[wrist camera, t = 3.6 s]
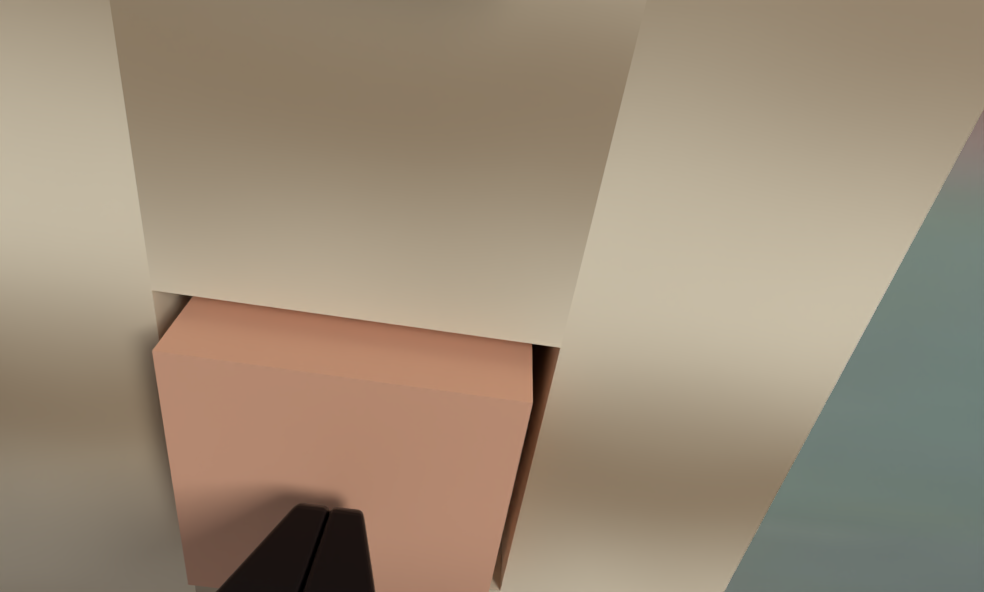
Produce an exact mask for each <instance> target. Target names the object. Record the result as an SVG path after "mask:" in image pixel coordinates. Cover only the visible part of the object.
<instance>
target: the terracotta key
mask: <svg viewBox="0 0 984 592" xmlns="http://www.w3.org/2000/svg"><path fill="white" fill-rule="evenodd" d="M152 354H153V360H154V367H155V373H156V380H157V386H158V393H159V399H160V406H161V412H162V419H163V425H164V432H165V438H166V445H167V451H168V457H169V464H170V470H171V477H172V483H173V490H174V496H175V503H176V509H177V516H178V522H179V529H180V535H181V542H182V548H183V554H184V561H185V567H186V574H187V580H188V585H195V586H203V587H212V588H220V587H221V586H222V584H223V583H224V582H225V581H226V580H227V579H228V578H229V577H230V576H231V575H232V573H233V572H234V571H235V570H236V569H237V568H238V567H239V566H240V565H241V564H242V563H243V561H244V560H245V559H246V558H247V557H248V556H249V555H250V554H251V553H252V552H253V551H254V549H255V548H256V547H257V546H258V545H259V544H260V543H261V542H262V541H263V540H264V539H265V537H266V536H267V535H268V534H269V533H270V532H271V531H272V530H273V529H274V528H275V526H276V525H277V524H278V523H279V522H280V521H281V520H282V519H283V518H284V517H285V516H286V514H287V513H288V512H289V511H290V510H291V509H292V508H293V507H294V506H295V505H297V504H299V503H311V504H319V505H325V506H328V507H329V509H330V510H331V509H332V508H334V507H343V508H350V509H358V510H361V511H362V512H363V514H364V519H365V525H366V532H367V539H368V545H369V552H370V559H371V565H372V572H373V579H374V585H375V592H489V589H490V585H491V580H492V576H493V572H494V567H495V563H496V559H497V555H498V550H499V546H500V542H501V537H502V533H503V529H504V525H505V520H506V516H507V512H508V507H509V503H510V499H511V495H512V490H513V486H514V482H515V477H516V473H517V469H518V465H519V460H520V456H521V452H522V448H523V443H524V439H525V435H526V430H527V426H528V422H529V418H530V413H531V409H532V405H533V374H532V344H530V343H523V342H516V341H509V340H502V339H495V338H488V337H480V336H473V335H466V334H459V333H452V332H445V331H438V330H431V329H424V328H416V327H409V326H402V325H395V324H388V323H381V322H374V321H367V320H360V319H352V318H345V317H338V316H331V315H324V314H317V313H310V312H303V311H296V310H288V309H281V308H274V307H267V306H260V305H253V304H246V303H239V302H232V301H224V300H217V299H210V298H203V297H196V296H193V297H192V298H191V299H190V301H189V302H188V303H187V305H186V306H185V307H184V309H183V310H182V311H181V313H180V314H179V315H178V317H177V318H176V319H175V321H174V322H173V323H172V325H171V326H170V327H169V329H168V330H167V331H166V333H165V334H164V335H163V337H162V338H161V340H160V341H159V342H158V344H157V345H156V346H155V348H154V349H153V350H152Z"/></svg>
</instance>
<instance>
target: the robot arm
mask: <svg viewBox="0 0 984 592" xmlns="http://www.w3.org/2000/svg"><path fill="white" fill-rule="evenodd" d="M216 592H375V585H374V579H373V572H372V565H371V559H370V552H369V545H368V539H367V532H366V525H365V519H364V514H363V512H362V511H361V510H358V509H350V508H343V507H334V508H332V509H331V510H330V509H329V507H328V506H325V505H319V504H311V503H299V504H297V505H295V506H294V507H293V508H292V509H291V510H290V511H289V512H288V513H287V514H286V516H285V517H284V518H283V519H282V520H281V521H280V522H279V523H278V524H277V525H276V526H275V528H274V529H273V530H272V531H271V532H270V533H269V534H268V535H267V536H266V537H265V539H264V540H263V541H262V542H261V543H260V544H259V545H258V546H257V547H256V548H255V549H254V551H253V552H252V553H251V554H250V555H249V556H248V557H247V558H246V559H245V560H244V561H243V563H242V564H241V565H240V566H239V567H238V568H237V569H236V570H235V571H234V572H233V573H232V575H231V576H230V577H229V578H228V579H227V580H226V581H225V582H224V583H223V584H222V586H221V587H220V588H219V589H218V590H217V591H216Z"/></svg>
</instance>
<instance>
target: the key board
mask: <svg viewBox="0 0 984 592" xmlns="http://www.w3.org/2000/svg"><path fill="white" fill-rule="evenodd" d="M983 109H984V0H0V592H216V591H217V590H218V589H219V588H212V587H203V586H195V585H188V580H187V574H186V567H185V561H184V554H183V548H182V542H181V535H180V529H179V522H178V516H177V509H176V503H175V496H174V490H173V483H172V477H171V470H170V464H169V457H168V451H167V445H166V438H165V432H164V425H163V419H162V412H161V406H160V399H159V393H158V386H157V380H156V373H155V367H154V360H153V354H152V350H153V349H154V348H155V346H156V345H157V344H158V342H159V341H160V340H161V338H162V337H163V335H164V334H165V333H166V331H167V330H168V329H169V327H170V326H171V325H172V323H173V322H174V321H175V319H176V318H177V317H178V315H179V314H180V313H181V311H182V310H183V309H184V307H185V306H186V305H187V303H188V302H189V301H190V299H191V298H192V297H193V296H196V297H203V298H210V299H217V300H224V301H232V302H239V303H246V304H253V305H260V306H267V307H274V308H281V309H288V310H296V311H303V312H310V313H317V314H324V315H331V316H338V317H345V318H352V319H360V320H367V321H374V322H381V323H388V324H395V325H402V326H409V327H416V328H424V329H431V330H438V331H445V332H452V333H459V334H466V335H473V336H480V337H488V338H495V339H502V340H509V341H516V342H523V343H530V344H532V374H533V405H532V409H531V413H530V418H529V422H528V426H527V430H526V435H525V439H524V443H523V448H522V452H521V456H520V460H519V465H518V469H517V473H516V477H515V482H514V486H513V490H512V495H511V499H510V503H509V507H508V512H507V516H506V520H505V525H504V529H503V533H502V537H501V542H500V546H499V550H498V555H497V559H496V563H495V567H494V572H493V576H492V580H491V585H490V589H489V592H724V591H725V589H726V587H727V585H728V583H729V581H730V580H731V578H732V576H733V574H734V572H735V570H736V568H737V567H738V565H739V563H740V561H741V559H742V557H743V555H744V554H745V552H746V550H747V548H748V546H749V544H750V542H751V541H752V539H753V537H754V535H755V533H756V531H757V529H758V528H759V526H760V524H761V522H762V520H763V518H764V516H765V515H766V513H767V511H768V509H769V507H770V505H771V503H772V502H773V500H774V498H775V496H776V494H777V492H778V490H779V489H780V487H781V485H782V483H783V481H784V479H785V477H786V476H787V474H788V472H789V470H790V468H791V466H792V464H793V463H794V461H795V459H796V457H797V455H798V453H799V451H800V450H801V448H802V446H803V444H804V442H805V440H806V438H807V437H808V435H809V433H810V431H811V429H812V427H813V425H814V424H815V422H816V420H817V418H818V416H819V414H820V412H821V411H822V409H823V407H824V405H825V403H826V401H827V399H828V397H829V396H830V394H831V392H832V390H833V388H834V386H835V384H836V383H837V381H838V379H839V377H840V375H841V373H842V371H843V370H844V368H845V366H846V364H847V362H848V360H849V358H850V357H851V355H852V353H853V351H854V349H855V347H856V345H857V344H858V342H859V340H860V338H861V336H862V334H863V332H864V331H865V329H866V327H867V325H868V323H869V321H870V319H871V318H872V316H873V314H874V312H875V310H876V308H877V306H878V305H879V303H880V301H881V299H882V297H883V295H884V293H885V292H886V290H887V288H888V286H889V284H890V282H891V280H892V279H893V277H894V275H895V273H896V271H897V269H898V267H899V266H900V264H901V262H902V260H903V258H904V256H905V254H906V253H907V251H908V249H909V247H910V245H911V243H912V241H913V240H914V238H915V236H916V234H917V232H918V230H919V228H920V227H921V225H922V223H923V221H924V219H925V217H926V215H927V214H928V212H929V210H930V208H931V206H932V204H933V202H934V201H935V199H936V197H937V195H938V193H939V191H940V189H941V188H942V186H943V184H944V182H945V180H946V178H947V176H948V175H949V173H950V171H951V169H952V167H953V165H954V163H955V162H956V160H957V158H958V156H959V154H960V152H961V150H962V149H963V147H964V145H965V143H966V141H967V139H968V137H969V136H970V134H971V132H972V130H973V128H974V126H975V124H976V122H977V121H978V119H979V117H980V115H981V113H982V111H983Z"/></svg>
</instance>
